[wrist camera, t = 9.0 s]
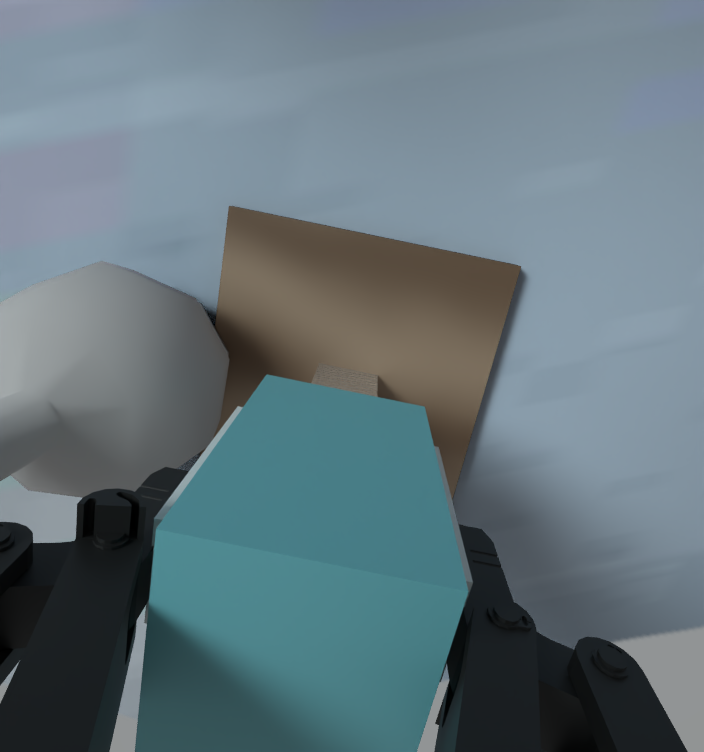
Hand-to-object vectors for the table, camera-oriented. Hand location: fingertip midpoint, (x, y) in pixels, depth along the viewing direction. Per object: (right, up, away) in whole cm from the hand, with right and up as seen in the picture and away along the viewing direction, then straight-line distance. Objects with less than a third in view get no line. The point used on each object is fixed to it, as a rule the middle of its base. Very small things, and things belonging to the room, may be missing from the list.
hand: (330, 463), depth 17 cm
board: (0, +2, +6) cm, 7 cm away
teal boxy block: (0, 0, 0) cm, 0 cm away
